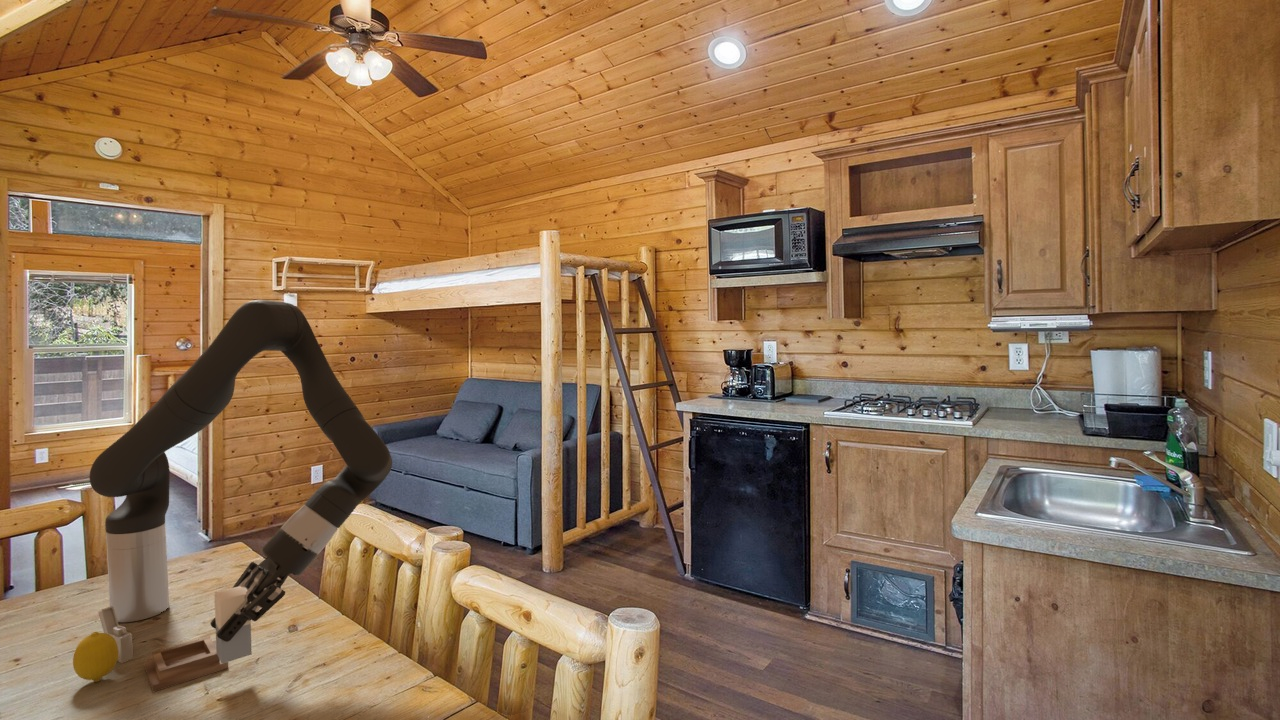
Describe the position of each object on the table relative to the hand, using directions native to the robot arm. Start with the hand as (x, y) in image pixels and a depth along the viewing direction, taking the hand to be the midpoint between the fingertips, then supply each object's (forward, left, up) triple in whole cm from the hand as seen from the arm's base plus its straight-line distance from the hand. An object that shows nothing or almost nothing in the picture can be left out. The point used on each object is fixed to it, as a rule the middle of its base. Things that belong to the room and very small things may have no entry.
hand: (218, 632), depth 100 cm
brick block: (0, +2, -4) cm, 5 cm away
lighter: (-24, -11, -9) cm, 28 cm away
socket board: (-11, -3, -9) cm, 14 cm away
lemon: (-16, -14, -9) cm, 23 cm away
